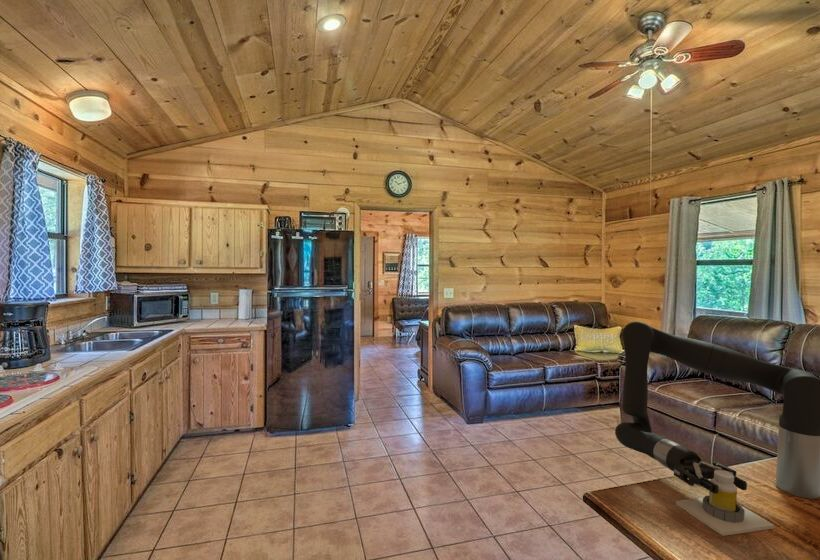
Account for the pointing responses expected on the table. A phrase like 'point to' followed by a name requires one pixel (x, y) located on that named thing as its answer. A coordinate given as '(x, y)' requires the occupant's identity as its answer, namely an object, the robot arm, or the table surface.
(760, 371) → the robot arm
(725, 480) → the supplement bottle
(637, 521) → the table surface
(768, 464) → the table surface
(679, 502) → the socket plate
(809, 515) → the table surface
